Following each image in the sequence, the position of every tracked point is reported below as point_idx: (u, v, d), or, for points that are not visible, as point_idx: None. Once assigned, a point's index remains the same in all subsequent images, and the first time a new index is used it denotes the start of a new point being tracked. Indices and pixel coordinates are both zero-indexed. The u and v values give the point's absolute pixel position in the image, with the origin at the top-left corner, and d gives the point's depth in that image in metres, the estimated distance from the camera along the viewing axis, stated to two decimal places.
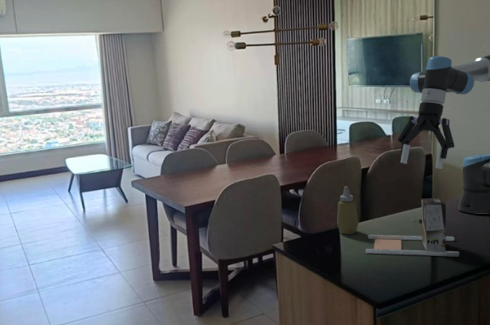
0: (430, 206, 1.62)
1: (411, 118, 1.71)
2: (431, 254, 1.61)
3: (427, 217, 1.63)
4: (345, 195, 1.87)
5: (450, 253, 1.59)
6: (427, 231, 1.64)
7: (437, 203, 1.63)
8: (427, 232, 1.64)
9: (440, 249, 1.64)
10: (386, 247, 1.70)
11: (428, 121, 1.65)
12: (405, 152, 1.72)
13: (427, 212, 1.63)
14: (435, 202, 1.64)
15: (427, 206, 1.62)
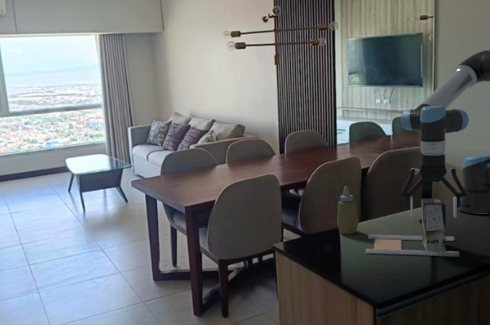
0: (430, 206, 1.62)
1: (413, 171, 1.65)
2: (431, 254, 1.61)
3: (427, 217, 1.63)
4: (345, 195, 1.87)
5: (450, 253, 1.59)
6: (427, 231, 1.64)
7: (437, 203, 1.63)
8: (427, 232, 1.64)
9: (440, 249, 1.64)
10: (386, 247, 1.70)
11: (437, 173, 1.62)
12: (412, 205, 1.67)
13: (427, 212, 1.63)
14: (435, 202, 1.64)
15: (427, 206, 1.62)
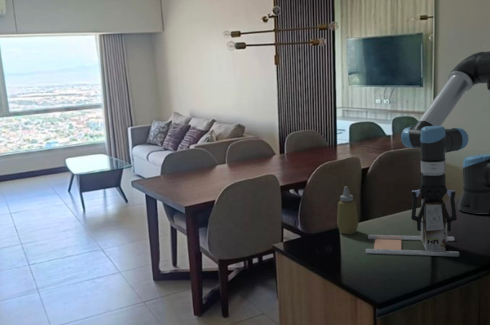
0: (430, 206, 1.62)
1: (414, 193, 1.66)
2: (431, 254, 1.61)
3: (427, 217, 1.63)
4: (345, 195, 1.87)
5: (450, 253, 1.59)
6: (427, 231, 1.64)
7: (437, 203, 1.63)
8: (427, 232, 1.64)
9: (440, 249, 1.64)
10: (386, 247, 1.70)
11: (437, 193, 1.63)
12: None
13: (427, 212, 1.63)
14: (435, 202, 1.64)
15: (427, 206, 1.62)
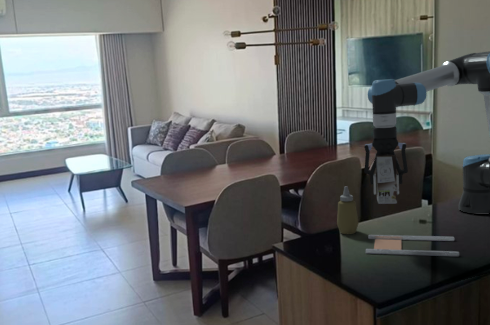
0: (381, 158, 1.64)
1: (367, 147, 1.68)
2: (431, 254, 1.61)
3: (378, 169, 1.65)
4: (345, 195, 1.87)
5: (450, 253, 1.59)
6: (378, 183, 1.66)
7: (388, 155, 1.64)
8: (378, 184, 1.66)
9: (391, 201, 1.66)
10: (386, 247, 1.70)
11: (388, 146, 1.65)
12: None
13: (378, 164, 1.65)
14: (386, 155, 1.66)
15: (378, 158, 1.64)
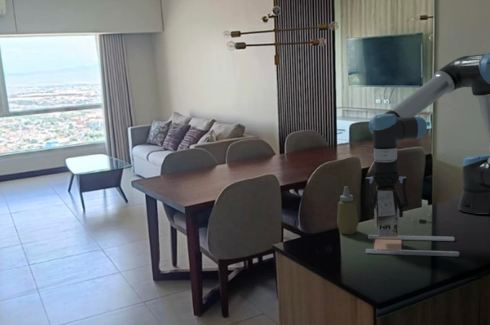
0: (382, 192, 1.66)
1: (368, 180, 1.70)
2: (431, 254, 1.61)
3: (379, 203, 1.67)
4: (345, 195, 1.87)
5: (450, 253, 1.59)
6: (379, 217, 1.67)
7: (389, 189, 1.66)
8: (379, 218, 1.67)
9: (392, 234, 1.67)
10: (386, 247, 1.70)
11: (389, 180, 1.67)
12: (376, 215, 1.72)
13: (379, 198, 1.66)
14: (387, 188, 1.68)
15: (379, 192, 1.66)
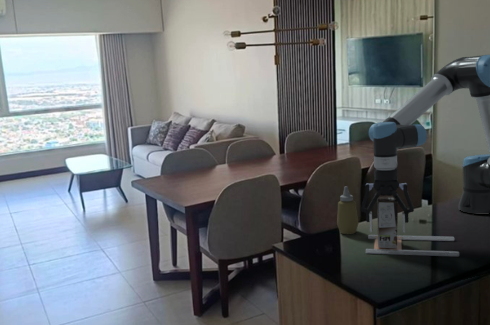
0: (383, 203, 1.67)
1: (367, 186, 1.70)
2: (431, 254, 1.61)
3: (380, 214, 1.68)
4: (345, 195, 1.87)
5: (450, 253, 1.59)
6: (379, 228, 1.68)
7: (390, 201, 1.67)
8: (379, 229, 1.68)
9: (391, 246, 1.68)
10: None
11: (389, 187, 1.67)
12: (371, 221, 1.73)
13: (380, 209, 1.67)
14: (388, 200, 1.69)
15: (380, 203, 1.67)
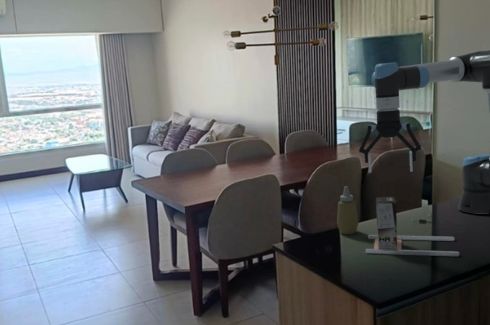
0: (381, 204, 1.67)
1: (370, 127, 1.69)
2: (431, 254, 1.61)
3: (378, 215, 1.68)
4: (345, 195, 1.87)
5: (450, 253, 1.59)
6: (379, 229, 1.68)
7: (388, 201, 1.67)
8: (379, 230, 1.68)
9: (391, 246, 1.68)
10: None
11: (392, 129, 1.66)
12: (370, 161, 1.72)
13: (378, 210, 1.67)
14: (387, 201, 1.69)
15: (378, 204, 1.67)
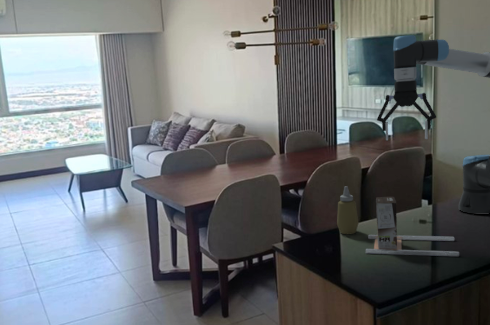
0: (381, 204, 1.67)
1: (388, 97, 1.79)
2: (431, 254, 1.61)
3: (378, 215, 1.68)
4: (345, 195, 1.87)
5: (450, 253, 1.59)
6: (379, 229, 1.68)
7: (388, 201, 1.67)
8: (379, 230, 1.68)
9: (391, 246, 1.68)
10: None
11: (409, 98, 1.77)
12: (387, 129, 1.82)
13: (378, 210, 1.67)
14: (387, 201, 1.69)
15: (378, 204, 1.67)
